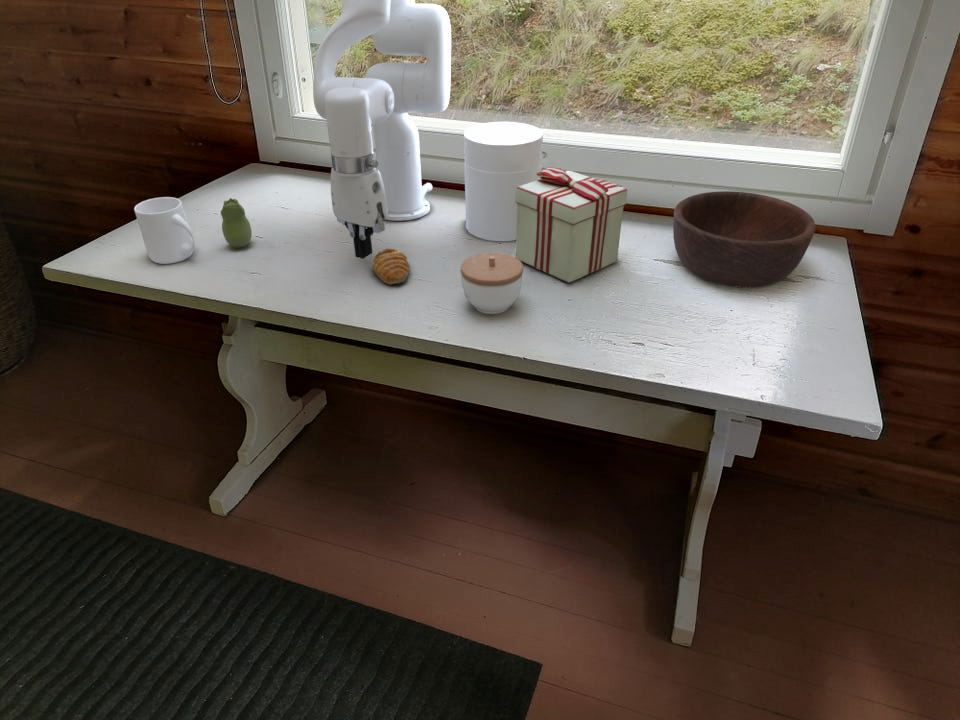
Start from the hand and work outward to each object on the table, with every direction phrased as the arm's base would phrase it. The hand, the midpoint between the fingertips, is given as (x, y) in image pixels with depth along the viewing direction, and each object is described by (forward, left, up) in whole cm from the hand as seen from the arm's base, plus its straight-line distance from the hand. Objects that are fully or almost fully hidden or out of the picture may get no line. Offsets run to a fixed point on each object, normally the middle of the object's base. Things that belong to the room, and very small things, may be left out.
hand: (364, 255), depth 134 cm
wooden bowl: (-36, +62, -3) cm, 72 cm away
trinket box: (+1, +29, -3) cm, 29 cm away
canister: (-30, +14, -3) cm, 33 cm away
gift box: (-23, +33, -3) cm, 40 cm away
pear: (+6, -28, -3) cm, 29 cm away
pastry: (0, +7, -3) cm, 7 cm away
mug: (+16, -35, -3) cm, 39 cm away
